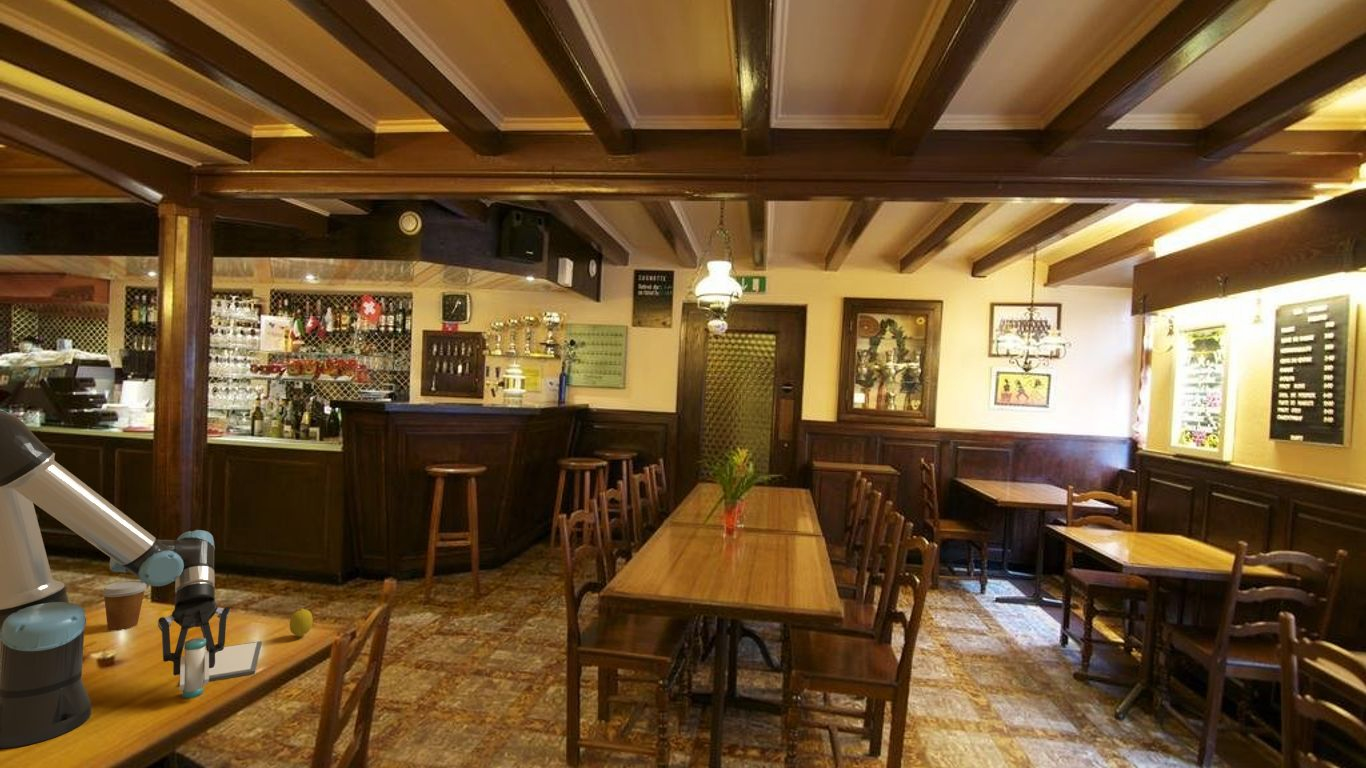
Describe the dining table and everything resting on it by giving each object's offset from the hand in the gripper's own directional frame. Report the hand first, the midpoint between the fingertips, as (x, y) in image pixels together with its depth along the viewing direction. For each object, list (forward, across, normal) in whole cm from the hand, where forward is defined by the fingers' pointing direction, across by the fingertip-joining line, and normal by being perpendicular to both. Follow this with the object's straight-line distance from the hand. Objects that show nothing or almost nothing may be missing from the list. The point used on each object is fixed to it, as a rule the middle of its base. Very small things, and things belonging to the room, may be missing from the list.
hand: (194, 684), depth 134 cm
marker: (0, 0, -5) cm, 5 cm away
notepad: (-11, -7, -16) cm, 20 cm away
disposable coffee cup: (-43, +14, -48) cm, 66 cm away
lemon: (-16, -24, -22) cm, 37 cm away
